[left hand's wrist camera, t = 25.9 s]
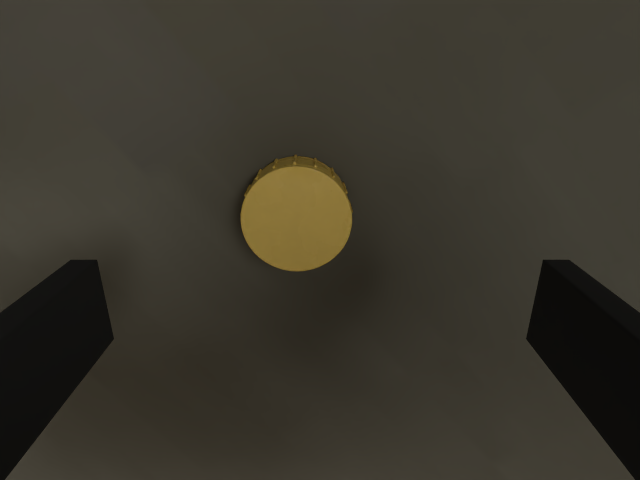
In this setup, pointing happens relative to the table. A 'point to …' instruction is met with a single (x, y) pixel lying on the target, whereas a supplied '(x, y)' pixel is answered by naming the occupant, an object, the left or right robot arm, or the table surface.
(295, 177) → the lid
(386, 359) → the table surface
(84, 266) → the left robot arm
